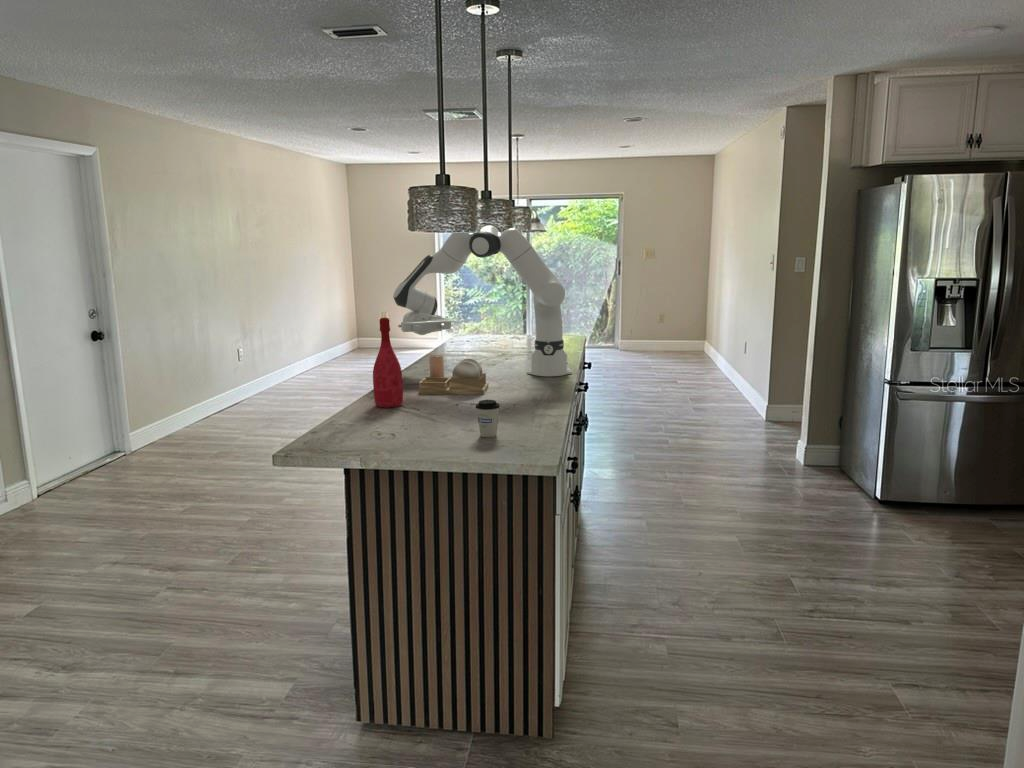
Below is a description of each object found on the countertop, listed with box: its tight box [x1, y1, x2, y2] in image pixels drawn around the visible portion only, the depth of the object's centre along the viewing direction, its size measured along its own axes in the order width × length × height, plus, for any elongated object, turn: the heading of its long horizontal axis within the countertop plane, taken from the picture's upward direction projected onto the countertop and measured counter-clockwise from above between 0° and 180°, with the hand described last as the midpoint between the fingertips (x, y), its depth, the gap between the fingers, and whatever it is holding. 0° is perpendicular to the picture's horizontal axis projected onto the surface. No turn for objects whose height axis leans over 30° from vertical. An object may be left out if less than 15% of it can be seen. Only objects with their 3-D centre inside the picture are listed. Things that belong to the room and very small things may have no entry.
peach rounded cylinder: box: [428, 354, 445, 377], centre depth 268 cm, size 6×6×11 cm
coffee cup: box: [475, 399, 501, 438], centre depth 194 cm, size 7×7×10 cm
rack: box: [418, 357, 489, 395], centre depth 255 cm, size 13×24×12 cm, turn 84°
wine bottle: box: [372, 317, 404, 409], centre depth 231 cm, size 10×10×30 cm
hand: (431, 327), depth 271 cm, fingers open, 8 cm apart
